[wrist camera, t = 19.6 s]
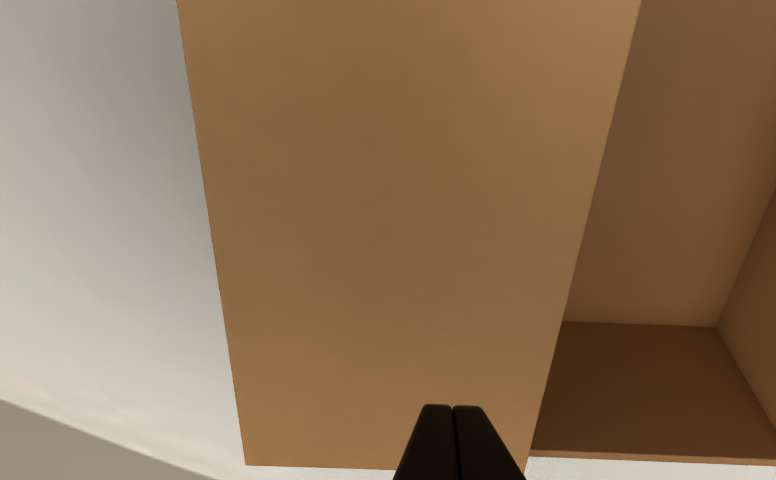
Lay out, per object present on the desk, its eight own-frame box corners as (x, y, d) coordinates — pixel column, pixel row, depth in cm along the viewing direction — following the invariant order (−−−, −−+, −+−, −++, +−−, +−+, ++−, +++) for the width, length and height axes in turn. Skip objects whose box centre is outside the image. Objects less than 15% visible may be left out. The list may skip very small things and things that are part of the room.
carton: (280, 310, 23) (247, 445, 18) (236, -231, 14) (150, -240, 9) (717, 328, 23) (798, 467, 18) (948, -201, 14) (1222, -197, 9)
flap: (247, 456, 18) (245, 466, 18) (147, -236, 9) (140, -238, 9) (522, 465, 18) (524, 474, 18) (688, -215, 9) (696, -214, 9)
